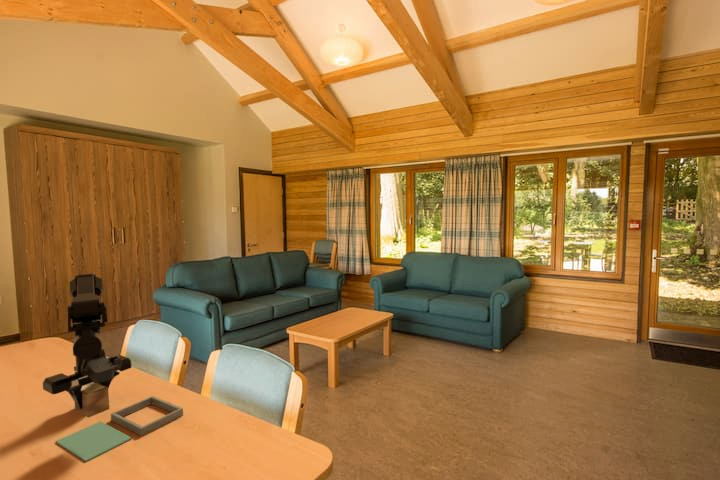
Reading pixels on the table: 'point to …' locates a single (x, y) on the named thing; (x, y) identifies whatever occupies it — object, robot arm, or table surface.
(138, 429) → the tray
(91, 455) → the mat
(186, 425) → the table surface
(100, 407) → the walnut block
